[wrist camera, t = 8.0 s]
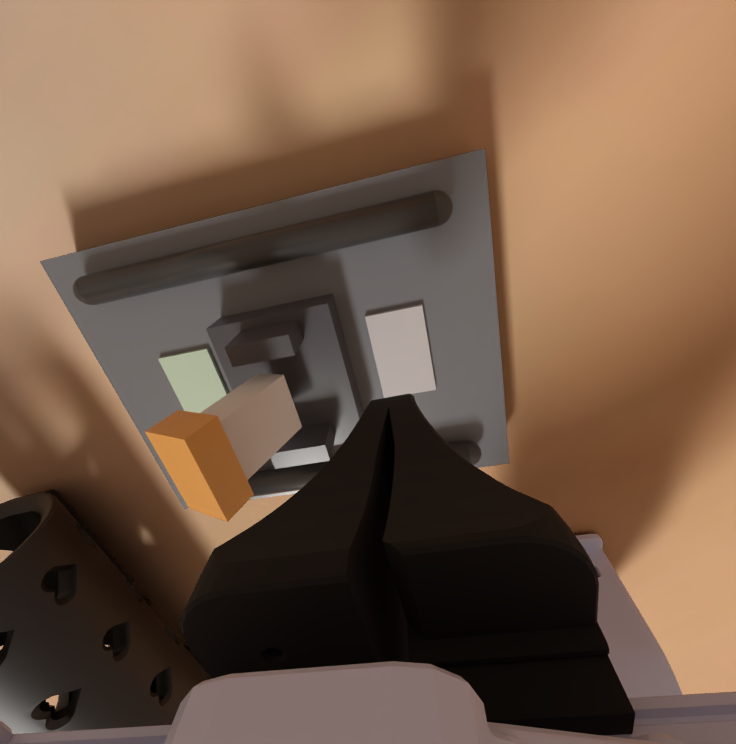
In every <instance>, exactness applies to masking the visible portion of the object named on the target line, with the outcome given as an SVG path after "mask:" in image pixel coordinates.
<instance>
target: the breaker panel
mask: <svg viewBox="0 0 736 744" xmlns="http://www.w3.org/2000/svg"><path fill="white" fill-rule="evenodd" d="M40 263H41V264H42V266H43V268H44V269H45V271H46V273H47V275H48V276H49V278H50V280H51V281H52V283H53V285H54V287H55V288H56V290H57V292H58V293H59V295H60V297H61V299H62V300H63V302H64V304H65V305H66V307H67V309H68V311H69V312H70V314H71V316H72V317H73V319H74V321H75V323H76V324H77V326H78V328H79V329H80V331H81V333H82V335H83V336H84V338H85V340H86V341H87V343H88V345H89V347H90V348H91V350H92V352H93V353H94V355H95V357H96V359H97V360H98V362H99V364H100V365H101V367H102V369H103V370H104V372H105V374H106V376H107V377H108V379H109V381H110V382H111V384H112V386H113V388H114V389H115V391H116V393H117V394H118V396H119V398H120V400H121V401H122V403H123V405H124V406H125V408H126V410H127V412H128V413H129V415H130V417H131V418H132V420H133V422H134V424H135V425H136V427H137V429H138V430H139V432H140V434H141V436H142V437H143V439H144V441H145V442H146V444H147V446H148V448H149V449H150V451H151V453H152V454H153V456H154V458H155V460H156V461H157V463H158V465H159V466H160V468H161V470H162V472H163V473H164V475H165V477H166V478H167V480H168V482H169V484H170V485H171V487H172V489H173V490H174V492H175V494H176V495H177V497H178V499H179V501H180V502H181V504H182V506H183V507H184V509H187V508H188V506H187V504H186V502H185V501H184V499H183V497H182V496H181V494H180V492H179V490H178V489H177V487H176V485H175V483H174V482H173V480H172V478H171V476H170V475H169V473H168V471H167V469H166V468H165V466H164V464H163V463H162V461H161V459H160V457H159V456H158V454H157V452H156V450H155V449H154V447H153V445H152V443H151V442H150V440H149V438H148V437H147V435H146V433H145V431H146V430H148V429H149V428H151V427H152V426H154V425H156V424H157V423H159V422H160V421H162V420H163V419H165V418H166V417H168V416H169V415H171V414H172V413H174V412H176V411H177V410H181V411H188V412H195V413H201V412H202V411H204V410H205V409H207V408H208V407H209V406H211V405H212V404H214V403H215V402H217V401H218V400H220V399H221V398H222V397H224V396H225V395H227V394H228V393H230V392H231V391H233V390H234V389H235V388H237V387H238V386H240V385H241V384H243V383H244V382H246V381H247V380H248V379H250V378H251V377H253V376H254V375H256V374H257V373H260V374H281V375H284V377H285V380H286V383H287V386H288V388H289V391H290V394H291V397H292V400H293V402H294V405H295V408H296V411H297V414H298V416H299V419H300V422H301V425H302V428H301V429H300V430H299V431H297V432H296V433H295V434H294V435H293V436H292V437H291V438H290V439H289V440H288V441H287V442H286V443H285V444H284V445H283V446H282V447H281V448H280V449H279V450H278V451H277V452H276V453H275V454H274V455H273V456H272V457H271V458H270V459H269V460H268V461H267V462H266V463H265V464H264V465H263V466H262V467H261V468H259V469H258V470H257V471H256V472H255V473H254V474H253V475H252V476H251V477H250V478H249V479H248V483H249V485H250V487H251V489H252V491H253V493H254V495H253V496H252V497H251V498H250V499H249V500H251V499H258V498H266V497H273V496H280V495H287V494H294V493H297V492H298V491H299V490H300V489H301V488H302V487H303V486H305V485H306V484H307V483H308V482H309V481H310V480H311V479H312V478H313V477H314V476H315V475H316V474H317V473H318V472H319V471H320V470H321V469H322V468H323V467H324V466H325V465H326V464H327V463H328V462H329V460H330V459H331V458H332V457H333V456H334V455H335V453H336V452H337V451H338V449H339V448H340V447H341V445H342V444H343V443H344V441H345V440H346V439H347V437H348V436H349V434H350V433H351V431H352V430H353V428H354V427H355V425H356V424H357V422H358V421H359V419H360V417H361V416H362V414H363V412H364V411H365V409H366V407H367V406H368V404H369V403H370V401H371V400H376V399H381V398H387V397H393V396H398V395H404V394H409V393H410V394H412V395H413V396H414V398H415V401H416V403H417V405H418V407H419V409H420V410H421V412H422V414H423V415H424V416H425V418H426V419H427V420H428V422H429V423H430V424H431V426H432V427H433V428H434V429H435V430H436V431H437V433H438V434H439V435H440V436H441V437H442V438H443V439H444V440H445V441H446V442H447V443H448V444H449V445H450V446H451V447H452V448H453V449H454V450H455V451H457V452H458V453H459V454H460V455H461V456H462V457H464V458H465V459H466V460H467V461H469V462H470V463H471V464H473V465H474V466H475V467H477V468H479V467H486V466H493V465H500V464H507V463H509V451H508V438H507V425H506V412H505V399H504V386H503V373H502V360H501V348H500V335H499V322H498V309H497V296H496V283H495V270H494V257H493V244H492V231H491V218H490V206H489V193H488V180H487V167H486V154H485V148H484V149H480V150H476V151H472V152H468V153H464V154H460V155H456V156H453V157H449V158H445V159H441V160H437V161H433V162H429V163H425V164H421V165H417V166H413V167H409V168H405V169H401V170H397V171H393V172H390V173H386V174H382V175H378V176H374V177H370V178H366V179H362V180H358V181H354V182H350V183H346V184H342V185H338V186H334V187H330V188H327V189H323V190H319V191H315V192H311V193H307V194H303V195H299V196H295V197H291V198H287V199H283V200H279V201H275V202H271V203H267V204H264V205H260V206H256V207H252V208H248V209H244V210H240V211H236V212H232V213H228V214H224V215H220V216H216V217H212V218H208V219H204V220H201V221H197V222H193V223H189V224H185V225H181V226H177V227H173V228H169V229H165V230H161V231H157V232H153V233H149V234H145V235H142V236H138V237H134V238H130V239H126V240H122V241H118V242H114V243H110V244H106V245H102V246H98V247H94V248H90V249H86V250H82V251H79V252H75V253H71V254H67V255H63V256H59V257H55V258H51V259H47V260H43V261H40Z"/></svg>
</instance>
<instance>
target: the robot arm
mask: <svg viewBox="0 0 736 744" xmlns="http://www.w3.org/2000/svg"><path fill="white" fill-rule="evenodd" d="M602 549H603V541H602V539H601V537H600V536H599V535H597V534H585V535H576V536H575V535H574V533H573V532H572V531H571V529H570V528H569V527H568V525H567V524H566V523H565V522H564V521H563V519H562V518H561V517H560V516H559V514H558V513H557V512H556V511H555V510H554V509H553V507H551V506H550V505H547V504H545V503H543V502H540V501H538V500H536V499H534V498H531V497H529V496H527V495H524V494H522V493H520V492H518V491H515V490H513V489H511V488H510V487H508V486H506V485H504V484H502V483H500V482H498V481H497V480H495V479H494V478H492V477H491V476H489V475H487V474H486V473H484V472H483V471H481V470H480V469H478V468H477V467H475V466H474V465H473V464H471V463H470V462H469V461H467V460H466V459H465V458H464V457H462V456H461V455H460V454H459V453H458V452H457V451H455V450H454V449H453V448H452V447H451V446H450V445H449V444H448V443H447V442H446V441H445V440H444V439H443V438H442V437H441V436H440V435H439V434H438V433H437V431H436V430H435V429H434V428H433V427H432V426H431V424H430V423H429V422H428V420H427V419H426V418H425V416H424V415H423V414H422V412H421V410H420V409H419V407H418V405H417V403H416V401H415V398H414V396H413V395H412V394H410V393H409V394H404V395H398V396H393V397H387V398H381V399H376V400H371V401H370V403H369V404H368V406H367V407H366V409H365V411H364V412H363V414H362V416H361V417H360V419H359V421H358V422H357V424H356V425H355V427H354V428H353V430H352V431H351V433H350V434H349V436H348V437H347V439H346V440H345V441H344V443H343V444H342V445H341V447H340V448H339V449H338V451H337V452H336V453H335V455H334V456H333V457H332V458H331V459H330V460H329V462H328V463H327V464H326V465H325V466H324V467H323V468H322V469H321V470H320V471H319V472H318V473H317V474H316V475H315V476H314V477H313V478H312V479H311V480H310V481H309V482H308V483H307V484H306V485H305V486H303V487H302V488H301V489H300V490H299V491H298V492H297V493H295V494H294V495H293V496H292V497H291V498H290V499H289V500H287V501H286V502H285V503H284V504H282V505H281V506H280V507H278V508H277V509H276V510H274V511H273V512H272V513H270V514H269V515H267V516H266V517H265V518H263V519H262V520H260V521H259V522H257V523H256V524H254V525H253V526H252V527H250V528H248V529H247V530H245V531H243V532H242V533H240V534H239V535H237V536H235V537H234V538H232V539H230V540H229V541H227V542H226V543H224V544H222V545H220V546H219V547H217V548H215V549H214V550H213V552H212V554H211V556H210V558H209V560H208V562H207V564H206V566H205V568H204V570H203V572H202V574H201V576H200V578H199V580H198V582H197V584H196V586H195V588H194V591H193V593H192V595H191V597H190V599H189V601H188V603H187V605H186V607H185V610H184V612H183V615H182V617H181V620H180V622H181V632H182V634H183V637H184V639H185V641H186V642H187V644H188V646H189V648H190V649H191V651H192V652H193V653H194V655H195V656H196V657H197V659H198V660H199V662H200V663H201V664H202V666H203V667H204V668H205V670H206V671H207V672H208V674H209V675H210V676H211V678H212V679H209V680H205V681H202V682H201V683H199V684H197V685H196V686H194V687H193V688H192V689H191V691H190V692H189V693H188V694H187V695H186V697H185V698H184V699H183V700H182V702H181V703H180V705H179V708H178V710H177V713H176V715H175V718H174V720H173V723H172V725H160V726H143V727H125V728H108V729H91V730H74V731H57V732H40V733H23V734H12V730H11V729H10V728H9V727H8V726H7V725H6V724H5V723H3V722H2V721H1V720H0V744H736V692H722V693H705V694H688V695H682V692H681V690H680V687H679V685H678V682H677V680H676V678H675V675H674V673H673V671H672V669H671V666H670V664H669V662H668V660H667V658H666V656H665V654H664V652H663V651H662V649H661V647H660V645H659V644H658V642H657V640H656V638H655V637H654V635H653V633H652V632H651V630H650V628H649V627H648V625H647V623H646V622H645V620H644V618H643V617H642V615H641V613H640V612H639V610H638V608H637V607H636V605H635V603H634V602H633V600H632V598H631V596H630V595H629V593H628V591H627V590H626V588H625V586H624V585H623V583H622V581H621V580H620V578H619V576H618V575H617V573H616V571H615V570H614V568H613V566H612V565H611V563H610V561H609V560H608V558H607V556H606V555H605V553H604V551H603V550H602Z"/></svg>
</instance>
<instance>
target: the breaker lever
mask: <svg viewBox="0 0 736 744" xmlns="http://www.w3.org/2000/svg"><path fill="white" fill-rule="evenodd" d="M301 428H302V425H301V422H300V419H299V416H298V414H297V411H296V408H295V405H294V402H293V400H292V397H291V394H290V391H289V388H288V386H287V383H286V380H285V377H284V375H281V374H260V373H257V374H256V375H254V376H253V377H251V378H250V379H248V380H247V381H246V382H244V383H243V384H241V385H240V386H238V387H237V388H235V389H234V390H233V391H231V392H230V393H228V394H227V395H225V396H224V397H222V398H221V399H220V400H218V401H217V402H215V403H214V404H212V405H211V406H209V407H208V408H207V409H205V410H204V411H202V412H201V413H195V412H188V411H181V410H177V411H176V412H174V413H172V414H171V415H169V416H168V417H166V418H165V419H163V420H162V421H160V422H159V423H157V424H156V425H154V426H152V427H151V428H149V429H148V430H146V431H145V433H146V435H147V437H148V438H149V440H150V442H151V443H152V445H153V447H154V449H155V450H156V452H157V454H158V456H159V457H160V459H161V461H162V463H163V464H164V466H165V468H166V469H167V471H168V473H169V475H170V476H171V478H172V480H173V482H174V483H175V485H176V487H177V489H178V490H179V492H180V494H181V496H182V497H183V499H184V501H185V502H186V504H187V506H188V508H190V509H193V510H196V511H199V512H202V513H204V514H207V515H210V516H213V517H215V518H218V519H221V520H224V521H227V522H228V521H229V520H230V519H231V518H232V517H233V516H234V515H235V514H236V513H237V512H238V511H239V509H240V508H241V507H242V506H243V505H244V504H245V503H246V502H247V501H248V500H249V499H250V498H251V497H252V496H253V495H254V493H253V491H252V489H251V487H250V485H249V483H248V479H249V478H250V477H251V476H252V475H253V474H254V473H255V472H256V471H257V470H258V469H259V468H261V467H262V466H263V465H264V464H265V463H266V462H267V461H268V460H269V459H270V458H271V457H272V456H273V455H274V454H275V453H276V452H277V451H278V450H279V449H280V448H281V447H282V446H283V445H284V444H285V443H286V442H287V441H288V440H289V439H290V438H291V437H292V436H293V435H294V434H295V433H296V432H297V431H299V430H300V429H301Z"/></svg>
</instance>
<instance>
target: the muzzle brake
mask: <svg viewBox="0 0 736 744" xmlns="http://www.w3.org/2000/svg"><path fill="white" fill-rule="evenodd" d="M0 550H10V551H13V552H12V553H11V554H10V555H9V556H8V557H7V558H6V559H5V560H4V561H2V562H1V563H0V646H2V645H4V646H3V648H2V649H1V650H0V720H1V721H2V722H3V723H5V724H6V725H7V726H8V727H9V728H10V729H11V730H12V734H23V733H40V732H57V731H74V730H91V729H108V728H125V727H143V726H160V725H172V723H173V720H174V718H175V715H176V713H177V710H178V708H179V705H180V703H181V702H182V700H183V699H184V698H185V697H186V695H187V694H188V693H189V692H190V691H191V689H192V688H193V687H194V686H196V685H197V684H199V683H201V682H202V681H205V680H209V679H211V677H210V676H209V675H208V672H207V671H206V670H205V668H204V667H203V666H202V664H201V663H200V662H199V660H198V659H197V657H196V656H195V655H194V653H193V652H192V651H191V649H190V648H189V646H185V647H184V645H183V644H182V643H181V642H180V641H179V640H178V638H177V637H176V636H175V635H174V634H173V633H172V631H171V630H170V629H169V628H168V627H167V626H166V625H165V623H164V622H163V621H162V620H161V619H160V617H159V616H158V615H157V614H156V613H155V612H154V610H153V609H152V608H151V602H150V601H149V599H146V600H144V599H143V598H142V596H141V595H140V594H139V593H138V592H137V591H136V589H135V588H134V587H133V586H132V582H133V581H132V579H131V578H130V577H129V576H128V575H127V574H126V572H125V571H124V570H123V569H122V568H121V566H120V565H119V564H118V563H117V562H116V561H115V559H114V558H113V557H112V556H111V555H110V554H109V552H108V551H107V550H106V549H105V548H104V546H103V545H102V544H101V543H100V542H99V541H98V539H97V538H96V537H95V536H94V535H93V534H92V532H91V531H90V530H89V529H88V528H87V526H86V525H85V524H84V523H83V522H82V521H81V519H80V518H79V517H78V516H77V515H76V514H75V512H74V511H73V510H72V509H71V508H70V506H69V505H68V504H67V503H66V502H65V501H64V499H63V498H62V497H61V496H60V495H59V494H58V492H57V491H56V490H54V489H53V490H49V491H44V492H40V493H36V494H32V495H28V496H23V497H19V498H15V499H12V500H9V501H7V502H4V503H2V504H0ZM105 645H109V646H108V647H106V646H105ZM55 695H59V698H58V703H57V706H56V708H55V707H54V706H53V705H49V703H48V702H46V699H48V698H50V697H51V696H55Z"/></svg>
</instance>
